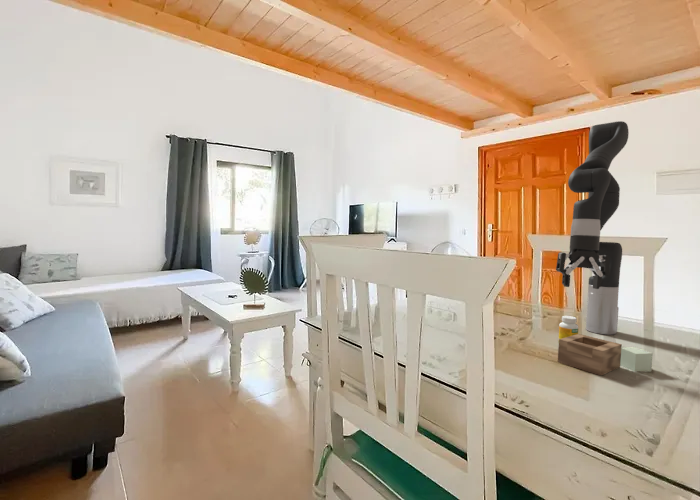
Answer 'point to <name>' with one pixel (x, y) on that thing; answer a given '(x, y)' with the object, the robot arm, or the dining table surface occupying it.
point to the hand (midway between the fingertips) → (581, 287)
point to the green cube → (636, 359)
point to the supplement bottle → (568, 327)
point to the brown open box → (589, 354)
